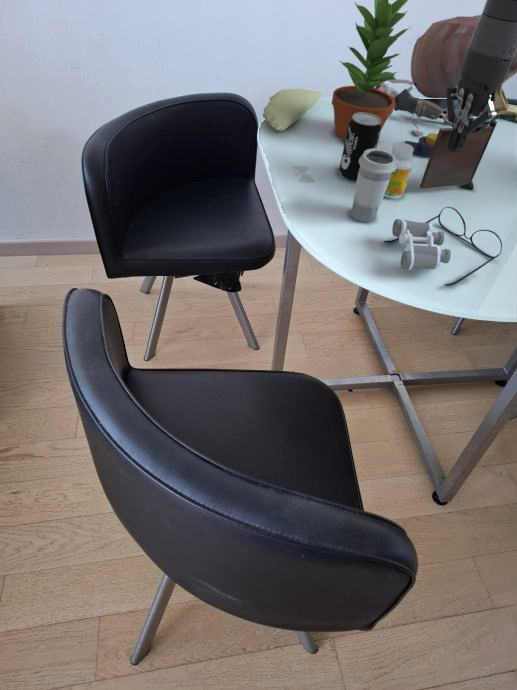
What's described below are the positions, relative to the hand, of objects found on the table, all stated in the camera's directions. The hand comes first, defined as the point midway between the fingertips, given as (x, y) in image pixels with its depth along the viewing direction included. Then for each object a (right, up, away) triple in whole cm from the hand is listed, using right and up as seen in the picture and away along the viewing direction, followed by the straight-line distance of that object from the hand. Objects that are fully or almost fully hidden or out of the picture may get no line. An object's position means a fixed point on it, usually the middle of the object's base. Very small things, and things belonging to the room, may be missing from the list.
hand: (453, 150), depth 93 cm
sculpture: (+17, +35, +25) cm, 47 cm away
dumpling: (-26, +21, +29) cm, 44 cm away
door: (+2, -4, +9) cm, 10 cm away
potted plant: (-13, +14, +26) cm, 32 cm away
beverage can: (-17, 0, +13) cm, 21 cm away
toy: (+21, +20, +32) cm, 43 cm away
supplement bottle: (-10, -6, +9) cm, 14 cm away
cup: (-17, -12, +1) cm, 21 cm away
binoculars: (-9, -21, -8) cm, 25 cm away
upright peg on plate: (+8, -3, +13) cm, 16 cm away
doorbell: (+4, +9, +23) cm, 25 cm away
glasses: (-5, -18, -9) cm, 21 cm away
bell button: (+4, +10, +22) cm, 24 cm away
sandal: (+29, +27, +44) cm, 59 cm away
